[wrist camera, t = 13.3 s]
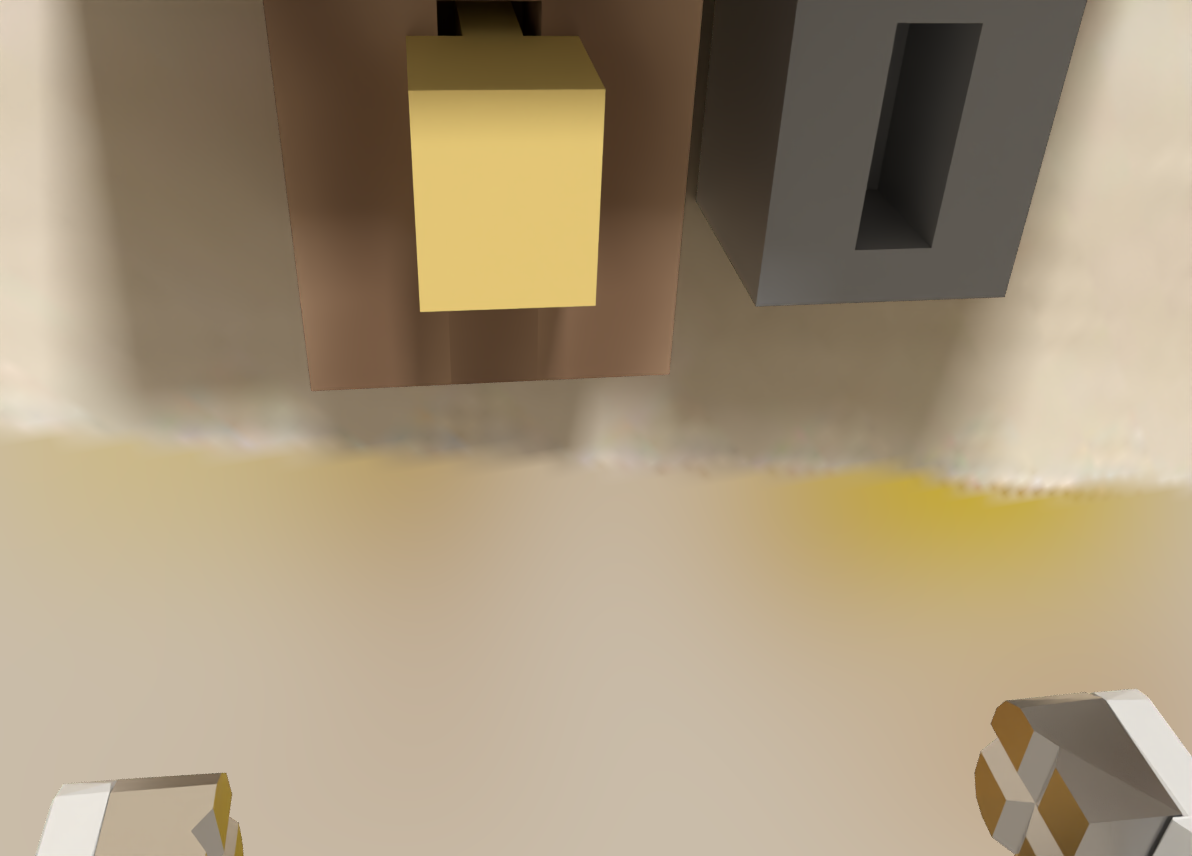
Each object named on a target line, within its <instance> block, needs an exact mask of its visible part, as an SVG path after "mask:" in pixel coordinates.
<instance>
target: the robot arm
mask: <svg viewBox="0 0 1192 856" xmlns="http://www.w3.org/2000/svg"><path fill="white" fill-rule="evenodd" d="M991 725H992V727H993V729H994V731H995V733H996V735H997V738H996V739H995V740H994V741H992V742H991V743H990V744H989V745H988V746H986V747H985V748H984V749H983V750H982V751H981V752H980V756H979V759H978V762H977V766H976V769H975V789H976V798H977V802H978V805H979V809H980V812H981V815H982V818H983V819H984V822H985V824H986V826H987V828H988V830H989V832H990V834H991V836H992V838H993V839H995V840H996V841H998V842H999V843H1000V844H1002V845H1003V846H1004V847H1006V848H1007V849H1008V850H1010V851H1011V852H1012V853H1014V854H1015V855H1014V856H1192V756H1191V755H1190V754H1189V752H1188V751H1187V749H1186V748H1185V747H1184V745H1183V744H1182V742H1180V740H1179V738H1178V737H1177V736H1176V734H1175V733H1174V732H1173V730H1172V729H1171V727H1170V726H1169V725H1168V723H1167V722H1166V721H1165V719H1164V718H1163V717H1162V715H1161V714H1160V712H1159V711H1158V710H1157V709H1156V707H1155V706H1154V704H1153V703H1152V702H1151V700H1150V699H1149V698H1148V697H1147V696H1146V695H1144V694H1143V693H1142V692H1140V691H1139V690H1137V689H1126V690H1115V691H1104V692H1094V693H1086V692H1082V693H1073V694H1063V695H1054V696H1044V697H1035V698H1025V699H1017V700H1007V701H1005V702H1003V703H1002V704H1001V705H1000V706H998V707H997V708H996V711H995V714H994V716H993V719H992V722H991ZM231 799H232V792H231V788H230V784H229V781H228V777H227V774H226V773H212V774H196V775H180V776H164V777H148V778H134V779H118V780H106V781H94V782H81V783H68V784H63V785H62V786H61V788H60V789H59V791H58V792H57V794H56V795H55V797H54V798H53V800H52V803H51V806H50V809H49V812H48V815H47V819H46V823H45V825H44V828H43V832H42V835H41V838H40V842H39V845H38V848H37V851H36V855H35V856H243V844H242V837H241V832H240V827H239V823H238V822H237V821H235V820H234V819H232V818H231V817H229V813H230V806H231Z"/></svg>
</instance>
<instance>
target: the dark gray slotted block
mask: <svg viewBox="0 0 1192 856" xmlns="http://www.w3.org/2000/svg"><path fill="white" fill-rule="evenodd" d="M1086 2H1087V0H715V8H714V18H713V29H712V39H711V49H710V60H709V70H708V80H707V91H706V101H705V111H704V122H703V132H702V143H701V153H700V163H699V174H698V184H697V194H696V202H697V204H698V206H699V208H700V209H701V211H702V213H703V215H704V216H705V218H706V220H707V222H708V223H709V225H710V227H711V229H712V230H713V232H714V234H715V236H716V237H717V239H718V241H719V243H720V244H721V246H722V248H723V250H724V251H725V253H726V255H727V257H728V258H729V260H730V262H731V264H732V265H733V267H734V269H735V271H736V272H737V274H738V276H739V278H740V279H741V281H742V283H743V285H744V287H745V288H746V290H747V292H748V294H749V295H750V297H751V299H752V301H753V302H754V304H755V306H781V305H808V304H834V303H861V302H887V301H914V300H940V299H966V298H993V297H1005V294H1006V290H1007V287H1008V283H1009V279H1010V276H1011V272H1012V269H1013V265H1014V261H1015V258H1016V254H1017V251H1018V247H1019V243H1020V240H1021V236H1022V233H1023V229H1024V225H1025V222H1026V218H1027V215H1028V211H1029V207H1030V204H1031V200H1032V197H1033V193H1034V189H1035V186H1036V182H1037V179H1038V175H1039V171H1040V168H1041V164H1042V160H1043V157H1044V153H1045V150H1046V146H1047V142H1048V139H1049V135H1050V132H1051V128H1052V124H1053V121H1054V117H1055V114H1056V110H1057V106H1058V103H1059V99H1060V96H1061V92H1062V88H1063V85H1064V81H1065V78H1066V74H1067V70H1068V67H1069V63H1070V60H1071V56H1072V52H1073V49H1074V45H1075V42H1076V38H1077V34H1078V31H1079V27H1080V24H1081V20H1082V16H1083V13H1084V9H1085V6H1086Z"/></svg>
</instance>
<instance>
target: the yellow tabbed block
mask: <svg viewBox="0 0 1192 856" xmlns="http://www.w3.org/2000/svg"><path fill="white" fill-rule="evenodd" d="M455 31H456V36H406V52H407V75H408V96H409V114H410V133H411V151H412V170H413V188H414V207H415V226H416V244H417V263H418V281H419V300H420V312H434V311H462V310H490V309H518V308H546V307H574V306H596V285H597V264H598V242H599V221H600V199H601V178H602V156H603V135H604V113H605V92H606V89H605V87H604V85H603V83H602V81H601V79H600V77H599V75H598V73H597V71H596V70H595V68H594V66H593V64H592V62H591V60H590V58H589V56H588V54H587V52H586V50H585V48H584V46H583V44H582V42H581V40H580V38H579V36H523V34H522V31H521V28H520V26H519V23H518V20H517V17H516V14H515V12H514V9H513V6H512V3H511V1H487V0H455Z"/></svg>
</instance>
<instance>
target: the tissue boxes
mask: <svg viewBox="0 0 1192 856" xmlns="http://www.w3.org/2000/svg"><path fill="white" fill-rule="evenodd" d="M487 1H511V3H512V6H513V9H514V12H515V14H516V17H517V20H518V23H519V26H520V28H521V31H522V34H523V36H579V38H580V40H581V42H582V44H583V46H584V48H585V50H586V52H587V54H588V56H589V58H590V60H591V62H592V64H593V66H594V68H595V70H596V71H597V73H598V75H599V77H600V79H601V81H602V83H603V85H604V87H605V89H606V92H605V113H604V135H603V156H602V178H601V199H600V221H599V242H598V264H597V285H596V306H574V307H546V308H518V309H490V310H462V311H434V312H420V300H419V281H418V263H417V244H416V226H415V207H414V188H413V170H412V151H411V133H410V114H409V96H408V75H407V52H406V36H456V31H455V0H263V4H264V12H265V20H266V28H267V36H268V44H269V52H270V61H271V69H272V77H273V85H274V93H275V101H276V109H277V117H278V125H279V133H280V142H281V150H282V158H283V166H284V174H285V182H286V190H287V198H288V206H289V214H290V223H291V231H292V239H293V247H294V255H295V263H296V271H297V279H298V287H299V295H300V304H301V312H302V320H303V328H304V336H305V344H306V352H307V360H308V368H309V376H310V385H311V391H321V390H343V389H364V388H385V387H407V386H428V385H450V384H471V383H493V382H514V381H536V380H557V379H578V378H600V377H621V376H643V375H664V374H669V372H670V361H671V350H672V339H673V328H674V317H675V306H676V295H677V284H678V273H679V262H680V251H681V240H682V228H683V217H684V206H685V195H686V184H687V173H688V162H689V151H690V140H691V129H692V118H693V107H694V96H695V85H696V74H697V63H698V52H699V41H700V30H701V19H702V8H703V0H487Z"/></svg>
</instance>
